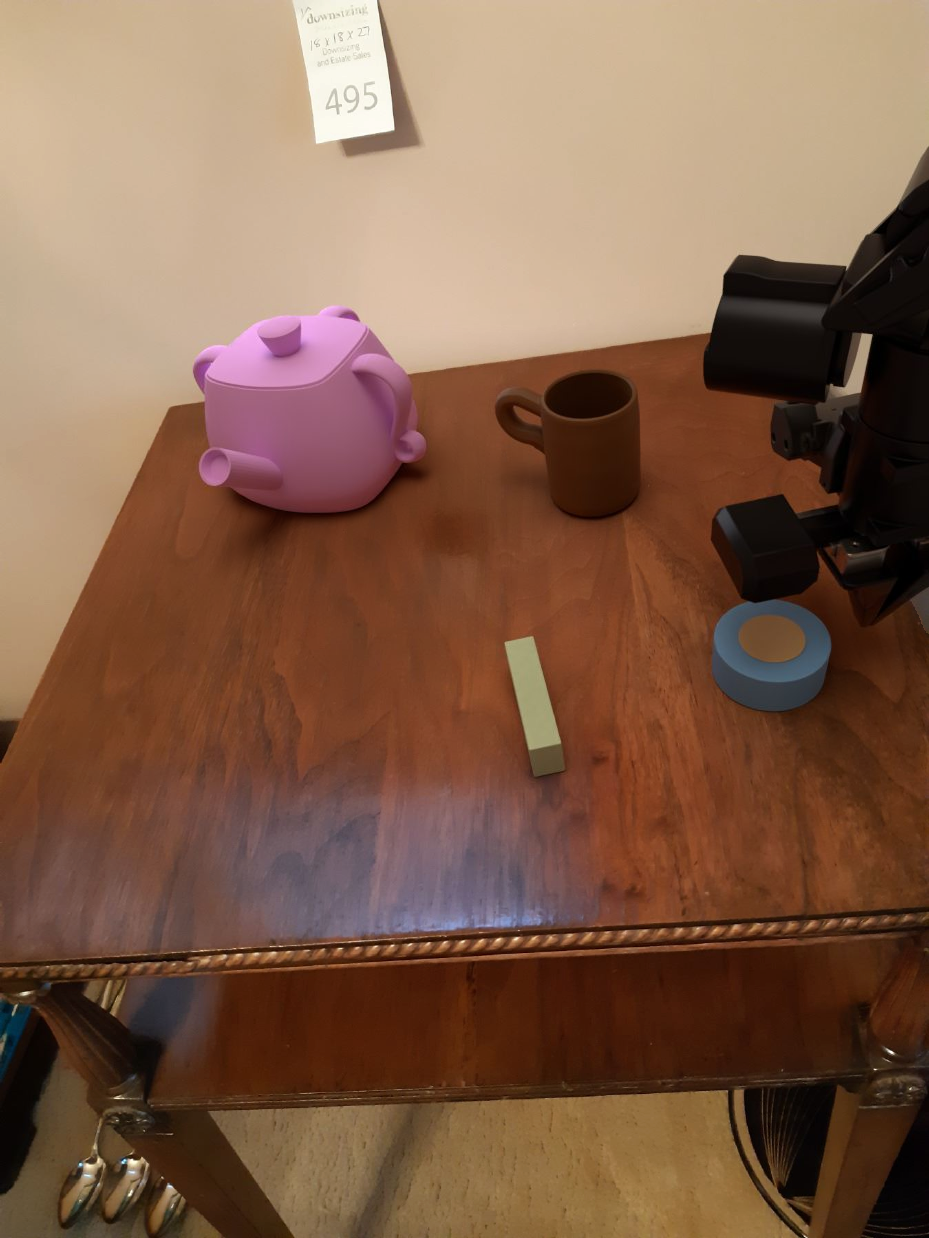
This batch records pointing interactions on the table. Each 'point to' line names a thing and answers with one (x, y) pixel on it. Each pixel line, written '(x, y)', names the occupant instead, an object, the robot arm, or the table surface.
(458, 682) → the table surface
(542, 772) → the stop block
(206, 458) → the teapot
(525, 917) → the table surface
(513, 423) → the mug
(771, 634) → the tape roll
